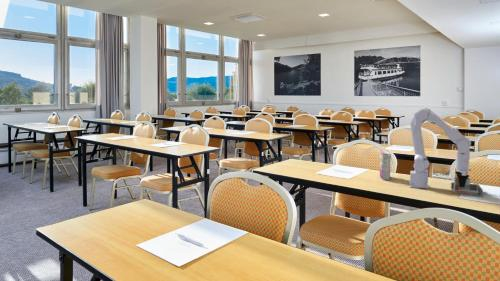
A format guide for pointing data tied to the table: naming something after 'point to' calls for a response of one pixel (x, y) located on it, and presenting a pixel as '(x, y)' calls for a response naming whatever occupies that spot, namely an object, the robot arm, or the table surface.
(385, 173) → the candy bar box
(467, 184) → the blue block
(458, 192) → the tray
